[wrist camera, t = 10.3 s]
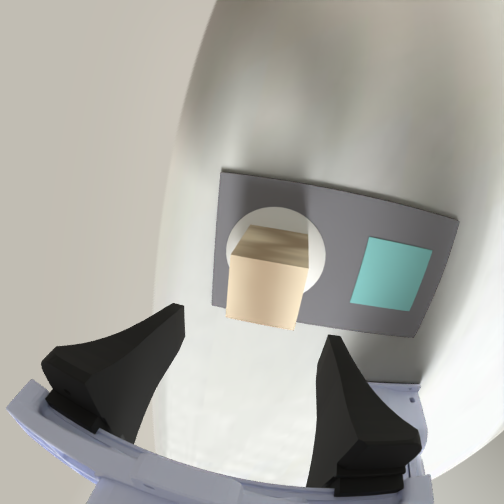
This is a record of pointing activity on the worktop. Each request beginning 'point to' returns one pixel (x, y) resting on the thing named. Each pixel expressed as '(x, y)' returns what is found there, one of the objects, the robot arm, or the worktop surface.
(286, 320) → the maple block
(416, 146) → the worktop surface
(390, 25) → the worktop surface
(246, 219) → the mat
